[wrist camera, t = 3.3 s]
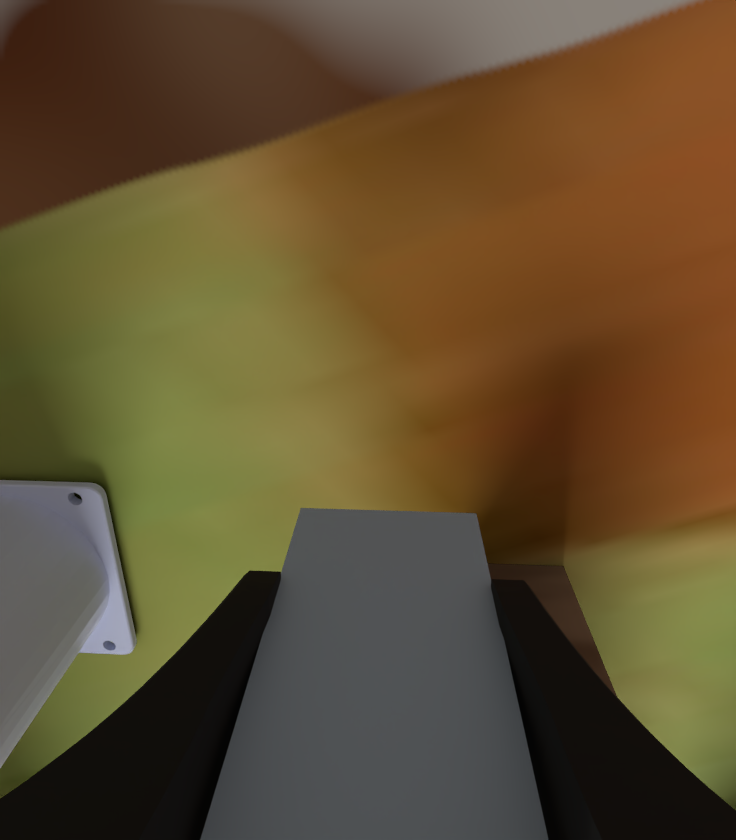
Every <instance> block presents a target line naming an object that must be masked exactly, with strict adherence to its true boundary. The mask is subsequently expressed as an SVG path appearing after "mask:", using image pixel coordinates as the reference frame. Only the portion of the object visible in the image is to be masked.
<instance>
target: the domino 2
mask: <svg viewBox="0 0 736 840" xmlns="http://www.w3.org/2000/svg"><path fill="white" fill-rule="evenodd" d="M488 569H489V573H490V578H491V579H504V580H524V581H525V582H526V583H527V584H528V585H529V586H530V588H531V589H532V591H533V592H534V593H535V595H536V596H537V598H538V599H539V600H540V602H541V603H542V605H543V606H544V607H545V609H546V610H547V611H548V613H549V614H550V616H551V617H552V618H553V620H554V621H555V622H556V624H557V625H558V626H559V628H560V629H561V630H562V632H563V633H564V634H565V635H566V637H567V638H568V639H569V641H570V642H571V643H572V644H573V646H574V647H575V648H576V649H577V651H578V652H579V653H580V654H581V655H582V657H583V658H584V659H585V660H586V662H587V663H588V664H589V665H590V666H591V668H592V669H593V670H594V671H595V673H596V674H597V675H598V676H599V677H600V678H601V680H602V681H603V682H604V683H605V684H606V685H607V686H608V688H609V689H610V690H611V691H612V692H613V693H614V694H615V695H616V693H615V691H614V688H613V686H612V684H611V681H610V679H609V676H608V674H607V671H606V669H605V666H604V664H603V662H602V659H601V657H600V654H599V652H598V649H597V647H596V645H595V642H594V640H593V637H592V635H591V632H590V630H589V628H588V625H587V623H586V620H585V618H584V615H583V613H582V611H581V608H580V606H579V603H578V601H577V598H576V596H575V593H574V591H573V589H572V586H571V584H570V581H569V579H568V576H567V574H566V572H565V569H564V567H563V566H542V565H514V564H488ZM616 697H617V696H616Z"/></svg>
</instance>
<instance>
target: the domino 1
mask: <svg viewBox="0 0 736 840" xmlns="http://www.w3.org/2000/svg"><path fill="white" fill-rule="evenodd" d="M200 840H548V835H547V831H546V826H545V822H544V817H543V813H542V808H541V804H540V799H539V795H538V790H537V785H536V781H535V776H534V772H533V767H532V763H531V758H530V754H529V749H528V745H527V740H526V736H525V731H524V727H523V722H522V718H521V713H520V709H519V704H518V700H517V695H516V691H515V686H514V682H513V677H512V672H511V668H510V663H509V659H508V654H507V650H506V645H505V641H504V638H503V635H502V632H501V629H500V626H499V622H498V617H497V613H496V608H495V604H494V599H493V595H492V590H491V578H490V573H489V569H488V564H487V559H486V555H485V550H484V546H483V541H482V537H481V532H480V528H479V523H478V519H477V514H476V513H447V512H413V511H380V510H347V509H314V508H301V509H300V513H299V516H298V519H297V523H296V526H295V529H294V532H293V536H292V539H291V542H290V546H289V549H288V552H287V555H286V559H285V562H284V565H283V569H282V572H281V581H280V585H279V588H278V591H277V595H276V598H275V601H274V605H273V608H272V612H271V615H270V618H269V620H268V622H267V625H266V627H265V630H264V632H263V635H262V638H261V641H260V644H259V648H258V651H257V654H256V658H255V661H254V664H253V667H252V671H251V674H250V677H249V681H248V684H247V687H246V691H245V694H244V697H243V700H242V704H241V707H240V710H239V714H238V717H237V720H236V723H235V727H234V730H233V733H232V737H231V740H230V743H229V747H228V750H227V753H226V756H225V760H224V763H223V766H222V770H221V773H220V776H219V779H218V783H217V786H216V789H215V793H214V796H213V799H212V803H211V806H210V809H209V812H208V816H207V819H206V822H205V826H204V829H203V832H202V835H201V839H200Z"/></svg>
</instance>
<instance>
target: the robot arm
mask: <svg viewBox="0 0 736 840" xmlns="http://www.w3.org/2000/svg"><path fill="white" fill-rule="evenodd" d="M74 493H77V494H79V495H80V496H81V498H82V499H78V498H77V497H76V496H75V495H74ZM280 581H281V572H272V571H249V572H248V573H246V574H245V575H244V576H243V578H242V579H241V580H240V581H239V582H238V584H237V585H236V586H235V587H234V588H233V590H232V591H231V592H230V593H229V594H228V596H227V597H226V598H225V599H224V600H223V601H222V603H221V604H220V605H219V606H218V607H217V608H216V610H215V611H214V612H213V613H212V614H211V615H210V616H209V618H208V619H207V620H206V621H205V622H204V623H203V624H202V625H201V626H200V628H199V629H198V630H197V631H196V632H195V633H194V634H193V635H192V636H191V637H190V638H189V639H188V641H187V642H186V643H185V644H184V645H183V646H182V647H181V648H180V649H179V650H178V651H177V652H176V653H175V654H174V655H173V656H172V657H171V658H170V659H169V660H168V661H167V662H166V663H165V664H164V665H163V666H162V667H161V668H160V669H159V670H158V671H157V672H156V673H155V674H154V675H153V676H152V677H151V678H150V679H149V680H148V681H147V682H146V683H145V684H144V685H143V686H142V687H141V688H140V689H139V690H138V691H137V692H135V693H134V694H133V695H132V696H131V697H130V698H129V699H128V700H127V701H126V702H125V703H123V704H122V705H121V706H120V707H119V708H118V709H117V710H115V711H114V712H113V713H112V714H111V715H110V716H108V717H107V718H106V719H105V720H104V721H103V722H101V723H100V724H99V725H98V726H97V727H96V728H94V729H93V730H92V731H91V732H90V733H88V734H87V735H86V736H85V737H83V738H82V739H81V740H79V741H78V742H77V743H76V744H74V745H73V746H72V747H71V748H69V749H68V750H67V751H65V752H64V753H63V754H61V755H60V756H59V757H57V758H56V759H55V760H53V761H52V762H51V763H49V764H48V765H47V766H45V767H44V768H43V769H41V770H40V771H39V772H37V773H36V774H35V775H33V776H32V777H31V778H29V779H28V780H27V781H25V782H24V783H23V784H21V785H20V786H18V787H17V788H15V789H14V790H12V791H11V792H10V793H8V794H7V795H5V796H4V797H2V798H1V799H0V840H200V839H201V835H202V832H203V829H204V826H205V822H206V819H207V816H208V812H209V809H210V806H211V803H212V799H213V796H214V793H215V789H216V786H217V783H218V779H219V776H220V773H221V770H222V766H223V763H224V760H225V756H226V753H227V750H228V747H229V743H230V740H231V737H232V733H233V730H234V727H235V723H236V720H237V717H238V714H239V710H240V707H241V704H242V700H243V697H244V694H245V691H246V687H247V684H248V681H249V677H250V674H251V671H252V667H253V664H254V661H255V658H256V654H257V651H258V648H259V644H260V641H261V638H262V635H263V632H264V630H265V627H266V625H267V622H268V620H269V618H270V615H271V612H272V608H273V605H274V601H275V598H276V595H277V591H278V588H279V585H280ZM491 590H492V595H493V599H494V604H495V608H496V613H497V617H498V622H499V626H500V629H501V632H502V635H503V638H504V641H505V645H506V650H507V654H508V659H509V663H510V668H511V672H512V677H513V682H514V686H515V691H516V695H517V700H518V704H519V709H520V713H521V718H522V722H523V727H524V731H525V736H526V740H527V745H528V749H529V754H530V758H531V763H532V767H533V772H534V776H535V781H536V785H537V790H538V795H539V799H540V804H541V808H542V813H543V817H544V822H545V826H546V831H547V835H548V840H736V810H734V809H733V808H732V807H731V806H730V805H728V804H727V803H726V802H725V801H724V800H723V799H721V798H720V797H719V796H718V795H717V794H715V793H714V792H713V791H712V790H711V789H710V788H708V787H707V786H706V785H705V784H704V783H703V782H702V781H701V780H699V779H698V778H697V777H696V776H695V775H694V774H693V773H692V772H691V771H689V770H688V769H687V768H686V767H685V766H684V765H683V764H682V763H681V762H680V761H679V760H678V759H677V758H676V757H675V756H674V755H672V754H671V753H670V752H669V751H668V750H667V749H666V748H665V747H664V746H663V745H662V744H661V743H660V742H659V741H658V740H657V739H656V738H655V737H654V736H653V735H652V734H651V733H650V732H649V731H648V730H647V729H646V728H645V727H644V726H643V725H642V724H641V723H640V721H639V720H638V719H637V718H636V717H635V716H634V715H633V714H632V713H631V712H630V711H629V710H628V709H627V708H626V706H625V705H624V704H623V703H622V702H621V701H620V700H619V699H618V698H617V697H616V695H615V694H614V693H613V692H612V691H611V690H610V689H609V688H608V686H607V685H606V684H605V683H604V682H603V681H602V680H601V678H600V677H599V676H598V675H597V674H596V673H595V671H594V670H593V669H592V668H591V666H590V665H589V664H588V663H587V662H586V660H585V659H584V658H583V657H582V655H581V654H580V653H579V652H578V651H577V649H576V648H575V647H574V646H573V644H572V643H571V642H570V641H569V639H568V638H567V637H566V635H565V634H564V633H563V632H562V630H561V629H560V628H559V626H558V625H557V624H556V622H555V621H554V620H553V618H552V617H551V616H550V614H549V613H548V611H547V610H546V609H545V607H544V606H543V605H542V603H541V602H540V600H539V599H538V598H537V596H536V595H535V593H534V592H533V591H532V589H531V588H530V586H529V585H528V584H527V583H526V582H525V581H524V580H504V579H491ZM110 641H112V642H113V643H112V642H110ZM136 644H137V639H136V634H135V630H134V625H133V620H132V615H131V610H130V606H129V601H128V596H127V591H126V586H125V582H124V577H123V572H122V567H121V562H120V558H119V553H118V548H117V543H116V538H115V534H114V529H113V524H112V519H111V514H110V510H109V505H108V500H107V495H106V493H105V490H104V489H103V488H102V487H101V486H99V485H97V484H95V483H89V482H54V481H19V480H0V768H1V767H2V765H3V764H4V762H5V761H6V759H7V758H8V756H9V755H10V753H11V752H12V750H13V749H14V747H15V746H16V744H17V743H18V742H19V740H20V739H21V737H22V736H23V734H24V733H25V731H26V730H27V728H28V727H29V725H30V724H31V722H32V721H33V719H34V718H35V716H36V715H37V713H38V712H39V710H40V709H41V707H42V706H43V705H44V703H45V702H46V700H47V699H48V697H49V696H50V694H51V693H52V691H53V690H54V688H55V687H56V685H57V684H58V682H59V681H60V679H61V678H62V676H63V675H64V673H65V672H66V670H67V669H68V668H69V666H70V665H71V663H72V662H73V660H74V659H75V657H76V656H77V654H78V653H101V654H129V653H131V652H132V651H133V649H134V647H135V646H136Z"/></svg>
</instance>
